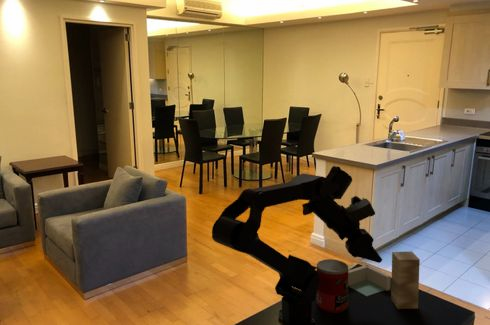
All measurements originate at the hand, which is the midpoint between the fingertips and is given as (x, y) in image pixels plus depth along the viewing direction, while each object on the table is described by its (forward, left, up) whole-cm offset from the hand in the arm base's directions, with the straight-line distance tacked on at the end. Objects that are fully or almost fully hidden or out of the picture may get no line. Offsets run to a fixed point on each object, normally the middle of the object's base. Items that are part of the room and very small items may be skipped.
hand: (375, 253), depth 101 cm
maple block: (+7, -4, -14) cm, 16 cm away
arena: (+3, +8, -14) cm, 16 cm away
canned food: (-9, +5, -14) cm, 18 cm away
